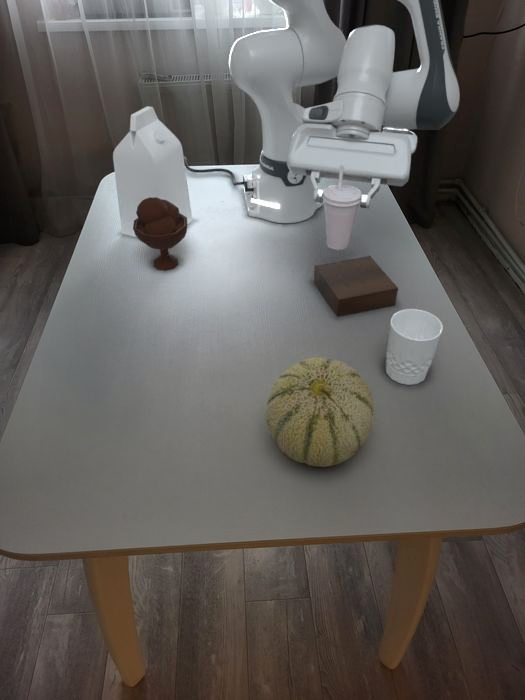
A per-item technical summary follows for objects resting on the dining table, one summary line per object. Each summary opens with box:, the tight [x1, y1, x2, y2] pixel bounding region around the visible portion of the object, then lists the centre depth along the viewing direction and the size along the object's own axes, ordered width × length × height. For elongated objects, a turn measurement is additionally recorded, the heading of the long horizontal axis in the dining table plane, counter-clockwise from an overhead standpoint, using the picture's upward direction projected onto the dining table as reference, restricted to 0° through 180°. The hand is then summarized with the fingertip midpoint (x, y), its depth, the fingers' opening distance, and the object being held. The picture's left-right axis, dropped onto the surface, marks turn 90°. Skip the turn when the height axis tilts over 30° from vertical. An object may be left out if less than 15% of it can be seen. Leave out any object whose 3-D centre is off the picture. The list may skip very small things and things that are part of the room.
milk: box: [112, 105, 194, 238], centre depth 120 cm, size 12×12×26 cm
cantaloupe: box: [265, 356, 375, 468], centre depth 75 cm, size 15×15×15 cm
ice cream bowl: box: [133, 197, 188, 271], centre depth 112 cm, size 11×11×15 cm
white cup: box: [385, 308, 444, 386], centre depth 89 cm, size 8×8×10 cm
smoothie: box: [323, 165, 363, 251], centre depth 93 cm, size 6×6×14 cm
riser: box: [313, 255, 399, 318], centre depth 108 cm, size 12×12×4 cm
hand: (340, 204), depth 92 cm, fingers closed on smoothie, 6 cm apart
